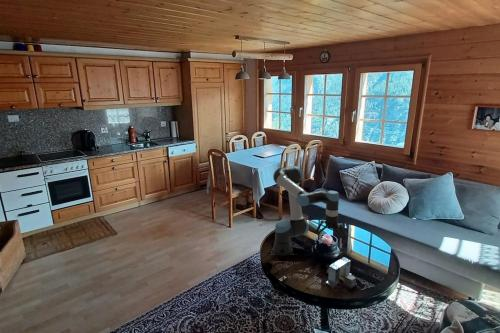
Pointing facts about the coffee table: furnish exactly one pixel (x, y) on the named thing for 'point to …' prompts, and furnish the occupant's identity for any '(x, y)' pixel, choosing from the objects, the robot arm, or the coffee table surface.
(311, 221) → the coffee table surface
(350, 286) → the yellow handled grey mallet
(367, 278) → the coffee table surface
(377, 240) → the coffee table surface
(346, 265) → the housing
